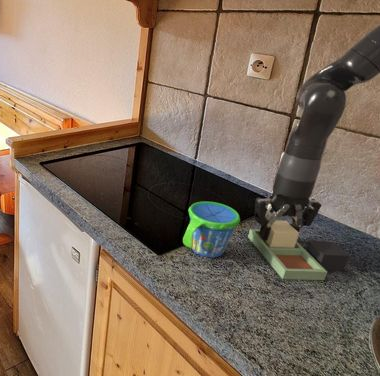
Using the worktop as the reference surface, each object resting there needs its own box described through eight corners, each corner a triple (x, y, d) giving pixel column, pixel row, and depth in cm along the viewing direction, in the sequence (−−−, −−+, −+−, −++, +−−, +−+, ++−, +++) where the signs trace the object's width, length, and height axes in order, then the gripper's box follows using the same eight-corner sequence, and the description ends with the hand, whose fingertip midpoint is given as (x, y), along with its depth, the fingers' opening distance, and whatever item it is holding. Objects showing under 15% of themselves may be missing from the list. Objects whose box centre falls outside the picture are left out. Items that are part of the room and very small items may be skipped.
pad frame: (283, 237, 100) (285, 230, 99) (324, 280, 85) (327, 271, 84) (247, 236, 100) (249, 229, 100) (282, 279, 85) (285, 270, 84)
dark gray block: (328, 256, 93) (333, 241, 92) (343, 270, 88) (349, 255, 87) (303, 255, 94) (308, 240, 92) (318, 270, 88) (323, 254, 87)
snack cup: (197, 270, 87) (206, 230, 83) (164, 246, 96) (171, 208, 92) (248, 253, 94) (258, 215, 89) (212, 232, 102) (221, 196, 98)
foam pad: (281, 235, 98) (286, 220, 97) (294, 247, 93) (299, 233, 91) (258, 234, 98) (263, 220, 97) (270, 247, 93) (274, 232, 92)
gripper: (272, 179, 85) (253, 247, 92) (341, 181, 85) (316, 249, 92) (256, 166, 92) (239, 230, 99) (319, 167, 92) (298, 231, 99)
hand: (276, 239), depth 95 cm, fingers closed on foam pad, 5 cm apart
